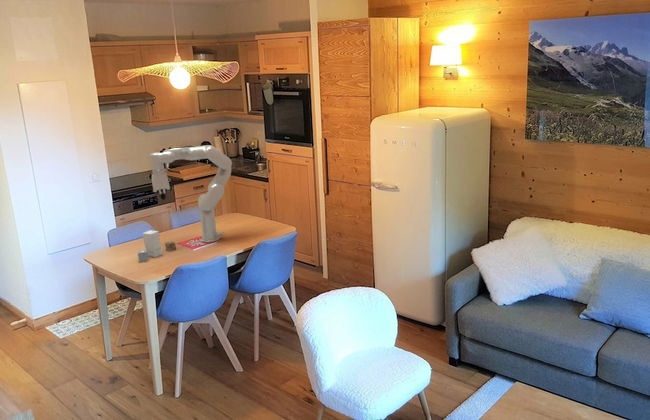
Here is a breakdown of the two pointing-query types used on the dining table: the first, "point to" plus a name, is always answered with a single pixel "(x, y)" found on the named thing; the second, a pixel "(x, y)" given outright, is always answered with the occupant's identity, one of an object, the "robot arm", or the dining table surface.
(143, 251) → the slate block dot
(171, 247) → the walnut block dot
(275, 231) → the dining table surface
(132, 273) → the dining table surface
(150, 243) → the skincare box
